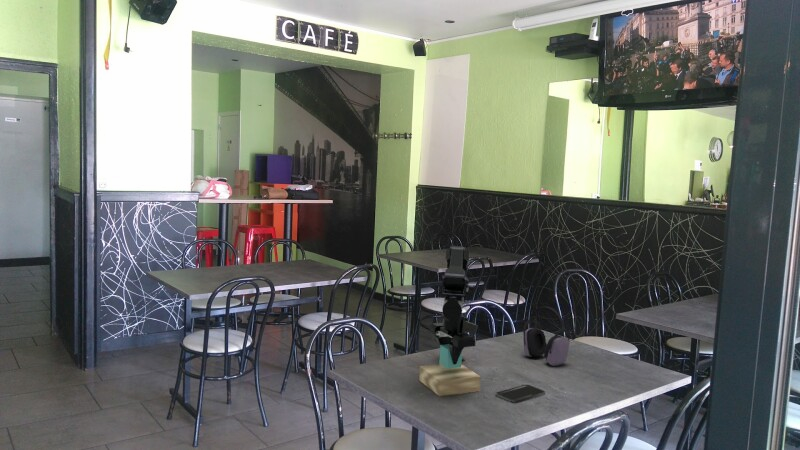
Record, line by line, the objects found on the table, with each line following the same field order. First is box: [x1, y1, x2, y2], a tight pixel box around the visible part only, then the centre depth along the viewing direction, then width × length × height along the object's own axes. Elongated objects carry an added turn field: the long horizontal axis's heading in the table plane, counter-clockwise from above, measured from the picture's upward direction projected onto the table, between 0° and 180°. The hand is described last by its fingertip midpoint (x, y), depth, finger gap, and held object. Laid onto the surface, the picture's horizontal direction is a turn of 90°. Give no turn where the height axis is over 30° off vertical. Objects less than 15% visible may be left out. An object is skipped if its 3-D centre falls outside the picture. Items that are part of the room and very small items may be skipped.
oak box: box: [418, 363, 482, 397], centre depth 181 cm, size 14×14×5 cm
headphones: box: [523, 305, 571, 367], centre depth 211 cm, size 9×17×20 cm, turn 34°
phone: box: [495, 384, 546, 404], centre depth 176 cm, size 8×1×15 cm
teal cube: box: [438, 344, 463, 369], centre depth 181 cm, size 5×5×6 cm
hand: (450, 361), depth 181 cm, fingers closed on teal cube, 5 cm apart
